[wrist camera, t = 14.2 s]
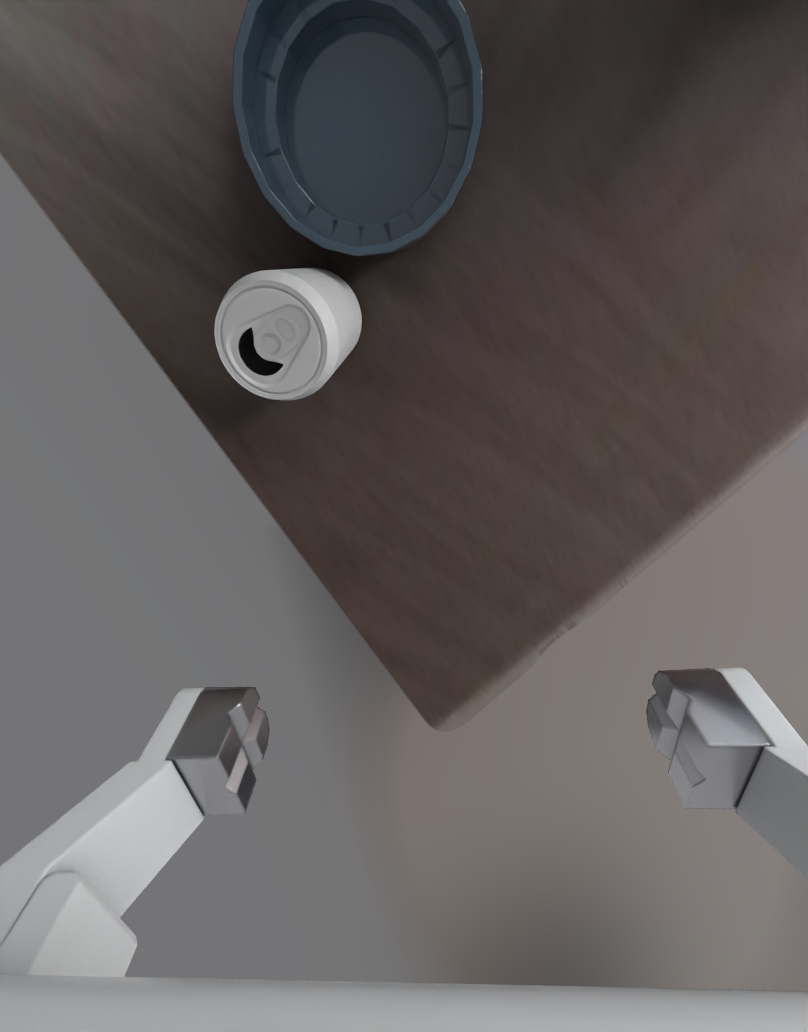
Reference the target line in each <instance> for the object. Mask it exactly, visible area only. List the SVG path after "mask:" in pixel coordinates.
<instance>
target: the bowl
mask: <svg viewBox="0 0 808 1032" xmlns="http://www.w3.org/2000/svg"><path fill="white" fill-rule="evenodd" d="M248 1H249V2H247V6H246V9H245V13H244V16H243V20H242V23H241V27H240V30H239V34H238V38H237V41H236V45H235V48H234V55H233V109H234V114H235V118H236V123H237V128H238V132H239V137H240V141H241V146H242V151H243V153H244V156H245V158H246V161H247V163H248V165H249V167H250V169H251V171H252V173H253V175H254V177H255V179H256V181H257V183H258V185H259V187H260V189H261V192H262V194H263V195H264V197H265V198H266V199H267V200H268V201H269V203H270V204H271V205H272V206H273V207H274V208H275V210H276V211H277V212H278V213H279V214H280V215H281V217H282V218H283V219H284V220H285V221H286V222H287V224H288V225H289V226H290V227H291V228H292V229H294V230H296V231H297V232H299V233H300V234H302V235H303V236H305V237H306V238H308V239H310V240H311V241H313V242H314V243H316V244H317V245H319V246H320V247H323V248H325V249H329V250H333V251H337V252H341V253H345V254H349V255H353V256H374V255H382V254H390V253H395V252H398V251H400V250H402V249H404V248H406V247H407V246H409V245H411V244H413V243H415V242H417V241H419V240H421V239H423V238H424V237H425V236H426V235H427V234H428V233H429V232H430V231H431V230H432V229H433V228H434V227H435V226H436V225H437V224H438V223H439V222H440V221H441V220H442V219H443V218H444V217H445V216H446V215H447V213H448V212H449V210H450V208H451V206H452V204H453V203H454V201H455V199H456V197H457V195H458V193H459V191H460V189H461V187H462V185H463V184H464V182H465V180H466V178H467V176H468V174H469V172H470V170H471V167H472V163H473V159H474V155H475V150H476V146H477V142H478V137H479V133H480V129H481V124H482V119H483V110H482V67H481V61H480V58H479V54H478V50H477V46H476V43H475V39H474V35H473V31H472V28H471V24H470V20H469V16H468V14H467V12H466V10H465V8H464V7H463V5H462V3H461V1H460V0H248Z"/></svg>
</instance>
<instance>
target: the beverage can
mask: <svg viewBox="0 0 808 1032" xmlns="http://www.w3.org/2000/svg"><path fill="white" fill-rule="evenodd" d="M361 326H362V317H361V310H360V306H359V303H358V300H357V298H356V296H355V294H354V292H353V291H352V289H351V288H350V287H349V285H348V284H347V283H346V282H345V281H344V280H343V279H341V278H340V277H339V276H337V275H336V274H334V273H332V272H330V271H328V270H325V269H320V268H297V269H279V270H264V271H258V272H254V273H251V274H249V275H246V276H244V277H243V278H241V279H240V280H238V281H237V282H236V283H235V284H233V285H232V286H231V288H230V289H229V290H228V291H227V293H226V294H225V296H224V298H223V300H222V302H221V305H220V307H219V309H218V312H217V315H216V319H215V327H214V334H215V343H216V347H217V350H218V353H219V356H220V359H221V361H222V363H223V364H224V366H225V368H226V369H227V371H228V372H229V374H230V375H231V376H232V377H233V378H234V379H235V380H236V381H237V382H238V383H239V384H240V385H241V386H242V387H244V388H245V389H247V390H248V391H250V392H252V393H254V394H256V395H258V396H261V397H264V398H268V399H275V400H297V399H301V398H304V397H307V396H309V395H311V394H313V393H315V392H316V391H317V390H319V389H320V388H321V387H322V386H323V385H324V384H325V383H326V382H327V381H328V379H329V378H330V377H331V376H332V375H333V373H334V372H335V371H336V370H337V368H338V367H339V366H340V365H341V363H342V362H343V361H344V360H345V359H346V357H347V356H348V355H349V354H350V352H351V351H352V350H353V349H354V347H355V345H356V343H357V341H358V339H359V336H360V332H361Z"/></svg>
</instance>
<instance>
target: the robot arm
mask: <svg viewBox="0 0 808 1032" xmlns="http://www.w3.org/2000/svg"><path fill="white" fill-rule="evenodd" d="M652 685H653V687H654V689H655V691H656V694H655V695H654V696H652V697H651V698H650V699H649V700H648V706H647V711H646V712H647V720H648V727H649V730H650V733H651V737H652V739H653V741H654V743H655V746H656V748H657V750H659V751H660V752H661V753H662V754H663V755H665V756H666V757H667V758H669V759H670V760H671V763H670V767H669V771H668V773H669V775H670V778H671V779H672V782H673V784H674V786H675V788H676V790H677V792H678V794H679V796H680V798H681V800H682V803H683V804H684V807H685V809H736V813H737V814H738V815H739V816H740V817H741V818H742V819H743V820H744V821H746V823H748V824H749V825H750V826H751V827H752V828H753V829H754V830H755V831H756V832H757V833H758V834H760V836H762V837H763V838H764V839H765V840H766V841H767V842H768V843H769V844H770V845H771V846H772V847H773V848H774V849H776V850H777V851H778V852H779V853H780V854H781V855H782V856H783V857H784V858H785V859H786V860H787V861H789V862H790V863H791V864H792V865H793V866H794V867H795V868H796V869H797V870H798V871H799V872H800V873H801V874H802V875H804V876H805V877H806V878H807V879H808V746H807V745H806V744H805V742H804V741H803V740H802V739H801V738H800V736H799V735H798V734H797V732H796V731H795V730H794V728H793V727H792V726H791V725H790V723H789V722H788V721H787V720H786V718H785V717H784V716H783V715H782V714H781V712H780V711H779V710H778V708H777V707H776V706H775V705H774V703H773V702H772V701H771V700H770V698H769V697H768V696H767V695H766V693H765V692H764V691H763V689H762V688H761V687H760V686H759V684H758V683H757V682H756V681H755V679H754V678H753V677H752V676H751V674H750V673H749V672H748V671H746V670H745V669H743V668H717V669H710V668H706V669H688V670H667V671H658V672H657V673H656V674H655V675H654V679H653V683H652ZM259 699H260V697H259V695H258V693H257V691H256V688H255V687H206V688H183V689H182V690H181V691H180V692H179V693H177V695H176V696H175V698H174V699H173V701H172V703H171V705H170V706H169V708H168V710H167V712H166V713H165V715H164V717H163V718H162V720H161V722H160V724H159V726H158V727H157V729H156V730H155V732H154V734H153V736H152V737H151V739H150V741H149V743H148V744H147V746H146V748H145V750H144V751H143V753H142V755H141V756H140V758H139V760H138V761H131V762H129V763H128V764H127V765H126V766H124V767H123V768H122V769H121V770H120V771H118V772H117V773H116V774H114V775H113V776H112V777H111V778H109V779H108V780H107V781H106V782H105V783H103V784H102V785H101V786H99V787H98V788H97V789H96V790H94V791H93V792H92V793H91V794H89V795H88V796H87V797H86V798H85V799H83V800H82V801H81V802H79V803H78V804H77V805H76V806H74V807H73V808H72V809H71V810H69V811H68V812H67V813H66V814H65V815H63V816H62V817H61V818H60V819H58V820H57V821H56V822H55V823H53V824H52V825H51V826H50V827H48V828H47V829H46V830H45V831H43V832H42V833H41V834H40V835H38V836H37V837H36V838H35V839H33V840H32V841H31V842H30V843H28V844H27V845H26V846H25V847H23V848H22V849H21V850H20V851H18V852H17V853H16V854H15V855H13V856H12V857H11V858H10V859H8V860H7V861H6V862H5V863H3V864H2V865H1V866H0V1032H808V991H766V990H718V989H670V988H624V987H576V986H575V987H574V986H573V987H572V986H525V985H481V984H433V983H385V982H338V981H337V982H336V981H335V982H334V981H291V980H287V981H286V980H243V979H242V980H240V979H194V978H146V977H124V976H125V973H126V971H127V968H128V966H129V964H130V961H131V958H132V956H133V954H134V951H135V949H136V946H137V940H136V936H135V934H134V933H133V932H132V931H131V930H130V929H129V928H128V927H127V926H126V925H125V923H124V922H123V921H122V920H121V919H120V917H121V916H122V914H123V913H124V912H125V911H126V910H127V909H128V907H129V906H130V905H131V904H132V903H133V901H134V900H135V899H136V898H137V897H138V895H139V894H140V893H141V892H142V891H143V890H144V889H145V887H146V886H147V885H148V884H149V883H150V882H151V880H152V879H153V878H154V877H155V876H156V874H157V873H158V872H159V871H160V870H161V868H162V867H163V866H164V865H165V864H166V863H167V862H168V860H169V859H170V858H171V857H172V856H173V855H174V853H175V852H176V851H177V850H178V849H179V847H180V846H181V845H182V844H183V843H184V841H185V840H186V839H187V838H188V837H189V836H190V834H191V833H192V832H193V831H194V830H195V829H196V827H197V826H198V825H199V824H200V823H201V822H202V820H203V819H204V816H207V815H229V814H245V813H246V810H247V807H248V804H249V801H250V798H251V795H252V792H253V789H254V786H255V783H256V777H255V775H254V772H253V769H254V768H255V767H256V766H257V764H259V763H260V762H261V761H262V760H263V758H264V755H265V752H266V749H267V745H268V737H269V724H268V718H267V716H266V713H265V711H263V710H262V709H260V708H259V707H258V706H257V704H258V701H259Z"/></svg>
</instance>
